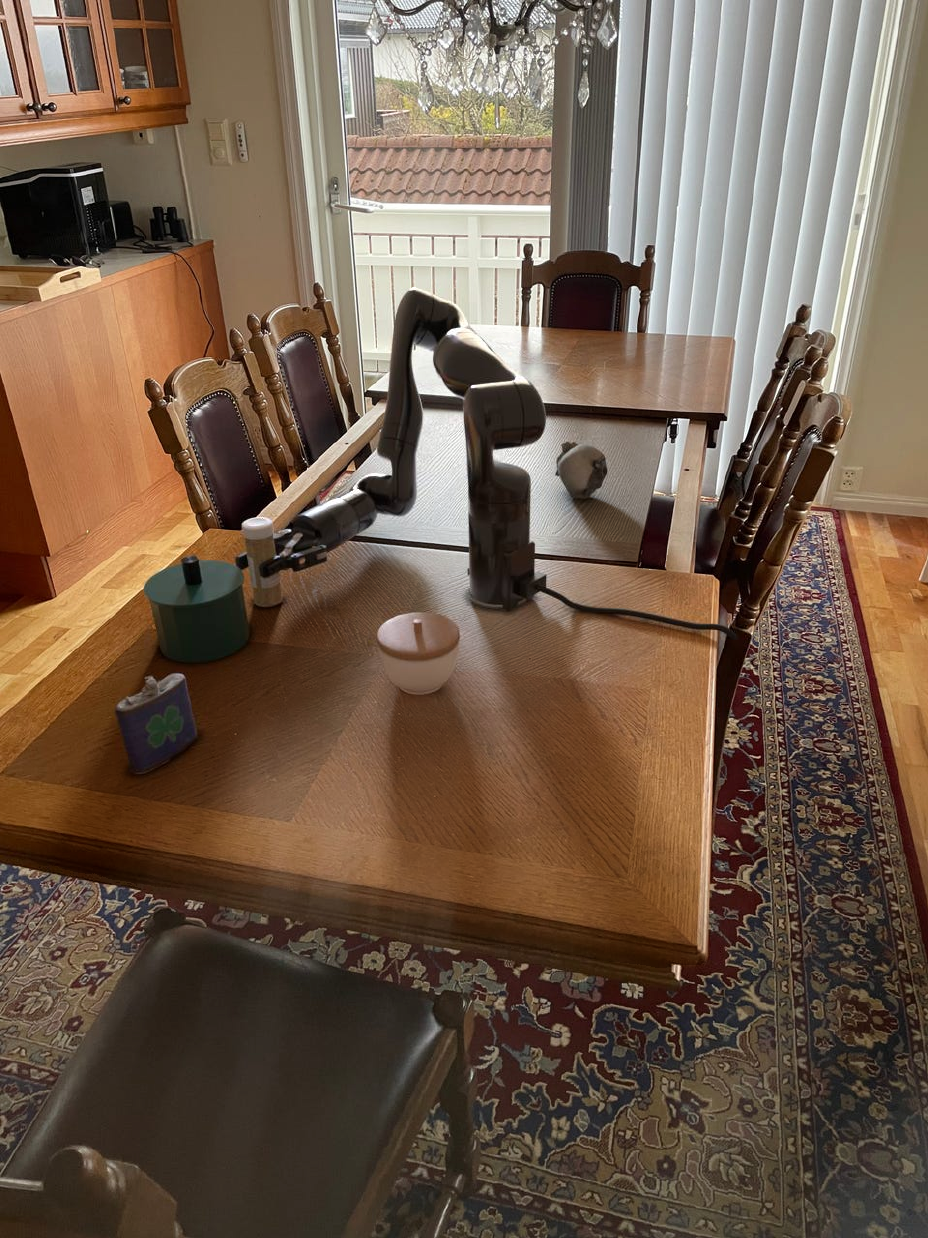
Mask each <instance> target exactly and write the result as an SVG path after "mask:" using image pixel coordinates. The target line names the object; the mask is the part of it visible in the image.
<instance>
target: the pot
mask: <svg viewBox="0 0 928 1238" xmlns="http://www.w3.org/2000/svg"><path fill="white" fill-rule="evenodd" d="M149 605H150V609H151V614H152V618H153V622H154V627H155V631H156V636H157V640H158V643H159V644H158V645H159V649H160V651H161V653H162V654H163V655H164V656H165V657H166V658H168V659H170V660H171V661H174V662H179V663H189V664H197V663H198V664H199V663H200V664H201V663H208V662H212V661H217V660H220V659H222V658H226V657H228V656H230V655H233V654H234V653H236V652H238V651H239V650H240V649H242V648H243V647H244V645H246V643H247V642H248V640H249V639H250V638H249V637H250V632H251V631H250V624H249V618H248V614H247V606H246V600H245V594H244V588H243V585H242V586H241V588H240V589H239V590H238V591H236V592H235V593H234V594H232V595H231V596H229V597H227V598H225V599H223V600H221V601H218V602H215V603H212V604H209V605H204V606H199V607H193V608H168V607H162V606H159V605H156V604H153V603H152V602H150V601H149Z"/></svg>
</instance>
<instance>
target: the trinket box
mask: <svg viewBox="0 0 928 1238" xmlns="http://www.w3.org/2000/svg"><path fill="white" fill-rule="evenodd" d="M460 633H461V632H460V628H459V626H458V624H457V623H456V622H455V621H453V620H452V619H450V617H447V616H444V615H442V614H439V613H433V612H423V611H419V612H408V613H403V614H400V615H396V616H394V617H392V618H389V619H388V620H386V621H385V622H384V623H382V624H381V626H380V627H379V628H378V630H377V632H376V643H377V647H378V655H379V660H380V664H381V666H382V669H383V671H384V673H385V675H386V677H388V679H389V680H390V682H392V683H393V684H394V685H396V686H397V687H398V688H399V689H400V690H401V691H402V692H404V693H407V694H409V695H415V696H423V695H430V694H432V693H435V692H437V691H439V690H440V689H441V688H442V686H443V685H445V683H447V682H448V680H450V679H451V677H452V675H453V674H454V672H455V670H456V667H457V663H458V661H459V654H460V640H461V639H460V638H461V635H460Z"/></svg>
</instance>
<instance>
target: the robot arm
mask: <svg viewBox="0 0 928 1238" xmlns="http://www.w3.org/2000/svg"><path fill="white" fill-rule="evenodd" d="M396 309H397V310H396V314H395V317H394V323H393V331H392V341H391V349H390V351H391V352H390V353H391V354H390V362H389V372H388V373H389V375H388V385H387V386H388V387H387V396H386V404H385V409H384V413H383V417H382V423H381V427H380V431H379V437H378V440H377V446H376V453H377V454H376V455H377V456H378V457H379V458H380V459H382V460H384V461H386V462H389V463H390V465H391V474H386V473H377V472H374V473H369V474H366V475H363V476H361V477H360V478H359V479H358V480H357V481H356V482H355V483H354V484H353V485H352V486H351V487H350V488H349V490H347V492H345V493H343V494H340V495H339V496H336V497H335V498H332V499H330V500H326V501H324V502H321V503H319V504H318V505H316V506H314V507H311V508H310V509H308V510H306V511H303V512H302V513H300V514H298V515H295V516H294V517H293V518H292V520H291V521H290V523H289V525H288V527H287V528H285V529H281V530H278V531H277V532H274V533H273V537H274V545H275V551H276V556H275V557H273V558H271V559H269V560H267V561H265V562H263V563H262V564H260V565H259V571H260V576H261V577H262V578H267V577H269V576H271V575H273V574H275V573H277V572H279V573H280V571H285V572H286V571H289V570H290V569H292V572H293V573H294V572H295V573H298V572H300V571H303V570H306V569H310V568H312V567H315V566H318V565H320V564H323V563H327V562H328V553H330V552H332V551H333V550H336V549H337V548H340V546H342V545H345V544H346V543H347V542H349V541H350V540H351V539H352V538H353V537H355V536H357V535H358V534H361V533H362V532H364V531H366V530H367V529H369V528H370V527H371V526H372V525H374V524H375V522H376V520H377V518H378V514H379V515H386V516H390V517H399V518H401V517H405V516H406V515H409V513H410V512H411V511H412V510H413V508H414V506H415V504H416V502H417V497H418V483H417V482H418V481H417V452H418V448H419V443H420V439H421V435H422V431H423V426H424V409H423V404H422V401H421V396H420V393H419V390H418V387H417V383H416V379H415V375H414V370H413V349H414V346H415V347H418V348H421V349H424V350H425V351H429V352H432V353H433V354H432V364H433V368H434V370H435V373H436V375H437V377H438V378H439V380H440V381H441V382H442V384H443V385H444V386H445V387H446V389H447V390H448V391H449V392H450V393H452V394H453V395H454V396H456V397H457V398H460V399H462V400H463V404H462V419H463V431H464V445H465V466H466V467H465V468H466V478H467V508H468V509H467V522H468V523H467V524H468V526H467V527H468V528H467V530H468V568H467V570H466V571H467V576H469V589H468V597H469V599H470V601H471V602H473V603H474V604H475V605H477V606H479V607H482V608H486V609H490V610H503V611H505V612H511V611H513V610H514V609H516V608H518V607H520V606H522V605H524V604H525V603H527V602H528V601H530V600H532V599H533V598H534V597H535V595H537V594H539V593H540V592H541V593H543V594H544V595H545V594H546V595H548V596H550V597H552V598H555V599H557V601H560V602H561V603H563V604H564V605H565V606H567V607H568V608H571V609H574V610H577V611H580V612H587V613H594V614H603V615H620V616H629V617H633V618H640V619H645V620H649V621H654V622H659V623H663V624H667V625H672V626H676V627H680V628H686V629H691V630H698V631H699V630H700V631H718V632H721V633H723V634H725V635H726V636H727V637H728V638H730V639H731V640H738V639H739V638H738V637H739V636H737V634H736V633H735V632H734V631H733V630H732V629H731V628H729V627H727V626H726V625H723V624H719V623H699V622H697V623H696V622H691V621H686V620H681V619H677V618H676V619H675V618H673V617H668V616H662V615H659V614H653V613H649V612H645V611H639V610H634V609H626V608H617V607H615V608H613V607H600V606H599V607H598V606H589V605H584V604H581V603H576V602H574V601H572V600H570V599H569V598H567V597H566V596H565V595H563V594H561V593H560V592H558V591H556V590H553V589H551V588H549V587H547V576H548V575H547V574H546V573H543V572H541V571H539V570H536V567H535V565H536V543H535V542H534V541H533V540H531V502H532V501H531V499H532V498H531V497H532V496H531V495H532V493H531V492H532V478H531V476H530V474H529V472H528V471H527V470H525V469H524V468H522V467H520V466H518V465H515V464H513V463H508V462H504V461H501V460H498V459H495V458H494V451H500V450H508V449H516V448H523V447H527V446H531V445H533V444H535V443H537V442H538V441H539V440H540V439H541V438H542V437H543V435H544V432H545V429H546V424H547V414H546V408H545V404H544V401H543V399H542V396H541V394H540V393H539V390H538V389H537V388H536V387H535V385H534V384H533V383H532V382H531V381H530V380H529V379H527V378H526V377H524V376H523V375H522V374H520V373H519V372H517V371H516V370H514V369H512V368H511V366H509V365H508V364H507V363H505V362H504V361H503V359H501V357H500V356H498V355H497V353H495V351H494V350H493V349H492V347H491V346H490V345H489V344H488V343H487V342H486V341H485V339H484V338H482V337H481V336H480V335H479V333H477V332H476V331H475V330H474V329H473V328H472V327H471V325H470V324H469V321H468V320H467V318H466V316H465V314H464V313H463V311H462V310H461V307H460V306H459V305H457V304H456V303H454V302H452V301H451V300H449V299H446V298H444V297H441V296H440V295H436V294H435V293H431V292H430V291H429V292H428V291H426V290H424V289H421V288H417V287H412V288H410V289H408V290H407V291H406V292H405V293H404V294H403V297H402V298H401V300H400V302H399V305H398V307H397V308H396ZM234 561H235V566H237V567H238V568H240V569H241V570H242V571H243V570H245V569H247V568H249V566H248V559H247V551H243V552H242V553H240V554H238V555H237V556H236V557H235V559H234ZM301 561H303V562H301ZM300 562H301V563H300ZM535 570H536V571H535Z"/></svg>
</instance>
